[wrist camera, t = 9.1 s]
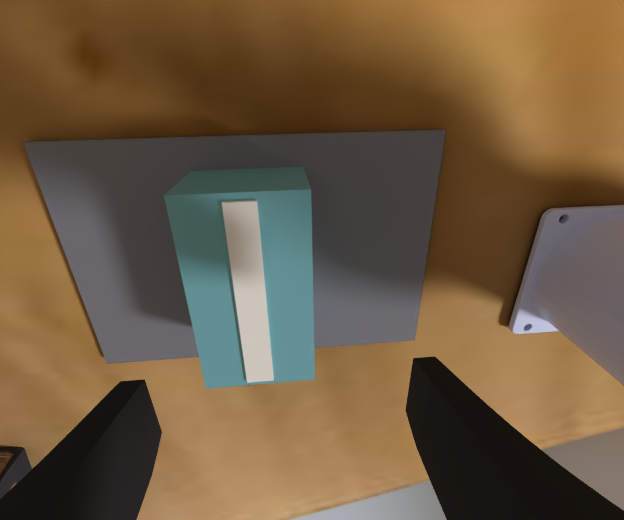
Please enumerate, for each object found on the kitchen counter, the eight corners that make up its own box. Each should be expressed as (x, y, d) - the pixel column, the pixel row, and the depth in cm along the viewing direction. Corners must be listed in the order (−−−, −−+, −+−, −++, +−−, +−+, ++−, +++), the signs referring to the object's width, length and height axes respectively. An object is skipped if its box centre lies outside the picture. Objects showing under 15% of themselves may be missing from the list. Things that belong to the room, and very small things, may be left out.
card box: (307, 326, 19) (315, 381, 16) (219, 332, 19) (205, 391, 15) (303, 166, 15) (311, 190, 12) (190, 170, 15) (162, 196, 11)
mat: (442, 129, 16) (446, 130, 15) (412, 335, 21) (414, 340, 21) (29, 141, 14) (23, 142, 14) (109, 358, 20) (106, 363, 19)
